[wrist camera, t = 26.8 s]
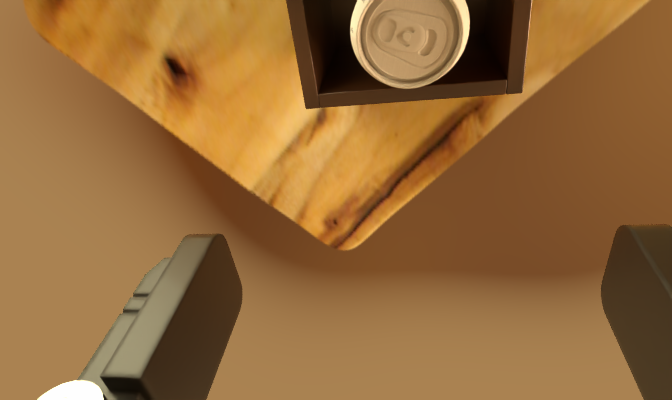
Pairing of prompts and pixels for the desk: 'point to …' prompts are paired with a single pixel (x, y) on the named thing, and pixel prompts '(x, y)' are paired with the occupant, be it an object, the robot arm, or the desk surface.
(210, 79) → the desk surface
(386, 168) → the desk surface
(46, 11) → the desk surface
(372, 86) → the chest
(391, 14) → the beer can
